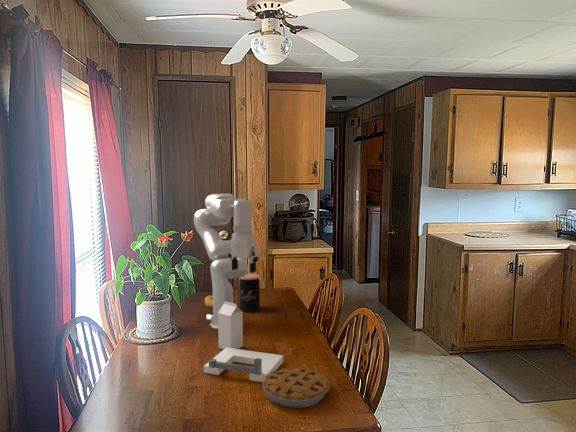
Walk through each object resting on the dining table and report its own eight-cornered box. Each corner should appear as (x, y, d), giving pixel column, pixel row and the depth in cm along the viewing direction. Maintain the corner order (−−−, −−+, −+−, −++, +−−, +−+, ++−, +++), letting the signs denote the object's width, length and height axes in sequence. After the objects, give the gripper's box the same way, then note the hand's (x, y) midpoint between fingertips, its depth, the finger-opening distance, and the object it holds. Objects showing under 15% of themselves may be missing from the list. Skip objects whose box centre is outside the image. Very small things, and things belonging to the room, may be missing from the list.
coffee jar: (236, 311, 232) (235, 277, 230) (244, 305, 242) (243, 273, 241) (255, 313, 229) (255, 279, 227) (262, 307, 239) (262, 274, 237)
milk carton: (230, 352, 180) (230, 306, 179) (218, 348, 185) (217, 303, 183) (243, 347, 186) (242, 302, 184) (230, 343, 190) (230, 299, 188)
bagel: (207, 308, 237) (206, 300, 237) (202, 303, 248) (202, 295, 247) (225, 307, 241) (225, 298, 241) (220, 301, 251) (220, 293, 251)
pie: (315, 417, 134) (315, 401, 133) (250, 401, 143) (250, 386, 142) (338, 385, 153) (338, 371, 153) (280, 373, 163) (280, 359, 162)
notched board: (203, 372, 163) (203, 365, 162) (226, 353, 179) (226, 347, 179) (265, 382, 155) (265, 375, 155) (283, 361, 172) (283, 355, 172)
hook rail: (208, 367, 161) (208, 353, 161) (211, 364, 163) (211, 351, 163) (259, 375, 155) (259, 361, 155) (261, 372, 157) (261, 358, 156)
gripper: (221, 229, 188) (222, 270, 189) (254, 232, 178) (254, 274, 180) (233, 227, 194) (233, 267, 196) (265, 230, 184) (265, 271, 186)
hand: (243, 270), depth 188 cm, fingers open, 9 cm apart
